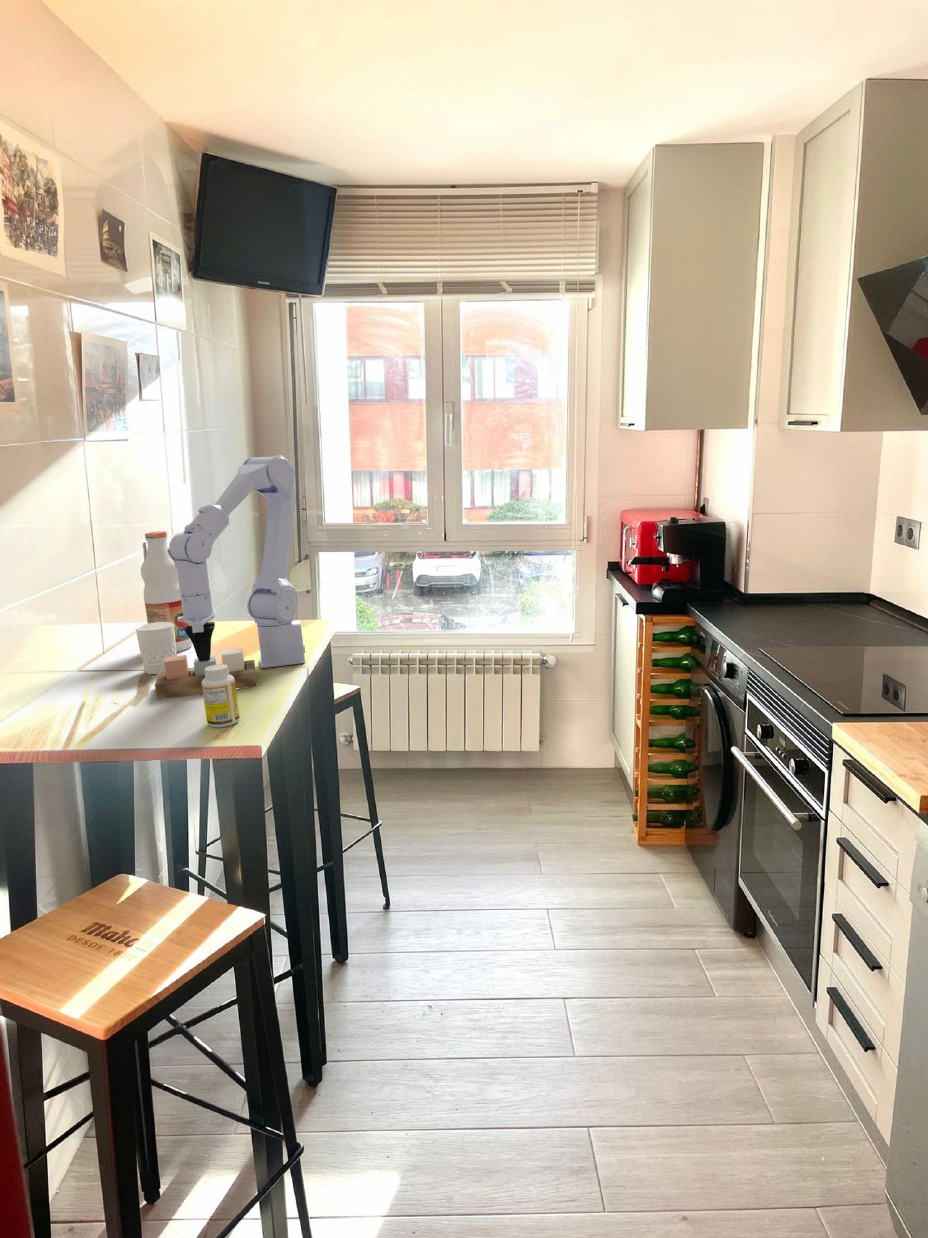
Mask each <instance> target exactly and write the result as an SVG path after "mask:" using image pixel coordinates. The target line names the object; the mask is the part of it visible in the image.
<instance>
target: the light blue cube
mask: <svg viewBox="0 0 928 1238" xmlns="http://www.w3.org/2000/svg"><path fill="white" fill-rule="evenodd" d="M211 665H217V661H216V655H215V656H210V660H208V661H199V660H198V658H194V661H193V667H194V669H195V676H201V675H205V668H206V667H208V666H211Z"/></svg>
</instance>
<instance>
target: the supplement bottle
mask: <svg viewBox="0 0 928 1238" xmlns="http://www.w3.org/2000/svg"><path fill="white" fill-rule="evenodd" d="M205 677H206V678H205V679H203V681H202V690H203V694H202V695H203V702H204V710H205V716H206V722H207V725H208V726H209V727H211V728H225V727H230V726H233V725H236V724H237V723H238V722H239V721H240V711H239V704H238V696H237V689H236V687H235V680H234V677H233V676H232V675H229V670H228V666H227V665H224V664H223V663H219V664H218V665H217V664H216V665H211V666H208V667H206V668H205Z"/></svg>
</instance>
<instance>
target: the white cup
mask: <svg viewBox="0 0 928 1238" xmlns="http://www.w3.org/2000/svg"><path fill="white" fill-rule="evenodd" d="M135 632H136V637H137V642H138V643H137V644H138V648H139V652H140V657H141V661H142V663H143V668H144V673H145V674H146V673H148V674H147V675H151V674H156V675H158V673H159V672H160V671H165V665H164V661H165V658H166V657H173V656H178V655H177V652H176V641H175V631H174V623H172V622H156V623H149V624H148V623H145V624H142V625H139V626H137V627H136V628H135Z"/></svg>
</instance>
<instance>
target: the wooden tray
mask: <svg viewBox="0 0 928 1238" xmlns="http://www.w3.org/2000/svg"><path fill="white" fill-rule="evenodd" d="M255 663H256V662H255V660H254V659H252V660H244V666H245V670H240V671H232V672H229V675H232V676H233V677H234V680H235V687H236V688H241V689H247V688H246V687H249V688H253V687H252V686H256V687H257V685H256V684H257V672H256V671H257V670H256V664H255ZM216 665H218V664H217V663H216ZM188 670H189V677H185V678H177V679H169V680H167V678H166V671H160V672H159V673H158V674H157V675H156V676H157V677H156V679H155V682H154V689H155V696H156V700H163V698H165V699H171V697H172V698H179V697H186V696H194V694H195V695H201V694H202V693H203V690H202V681H203V679H205V678H206V677H205V675H201V676H195V669H194V666H193V667H188ZM202 695H203V694H202Z"/></svg>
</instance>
